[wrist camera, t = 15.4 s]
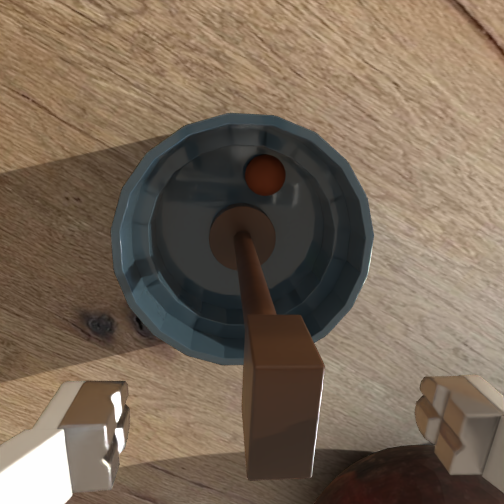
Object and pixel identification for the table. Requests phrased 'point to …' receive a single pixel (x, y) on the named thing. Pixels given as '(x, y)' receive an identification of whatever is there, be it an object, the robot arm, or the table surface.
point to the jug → (407, 481)
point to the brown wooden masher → (270, 355)
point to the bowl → (203, 213)
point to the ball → (265, 175)
